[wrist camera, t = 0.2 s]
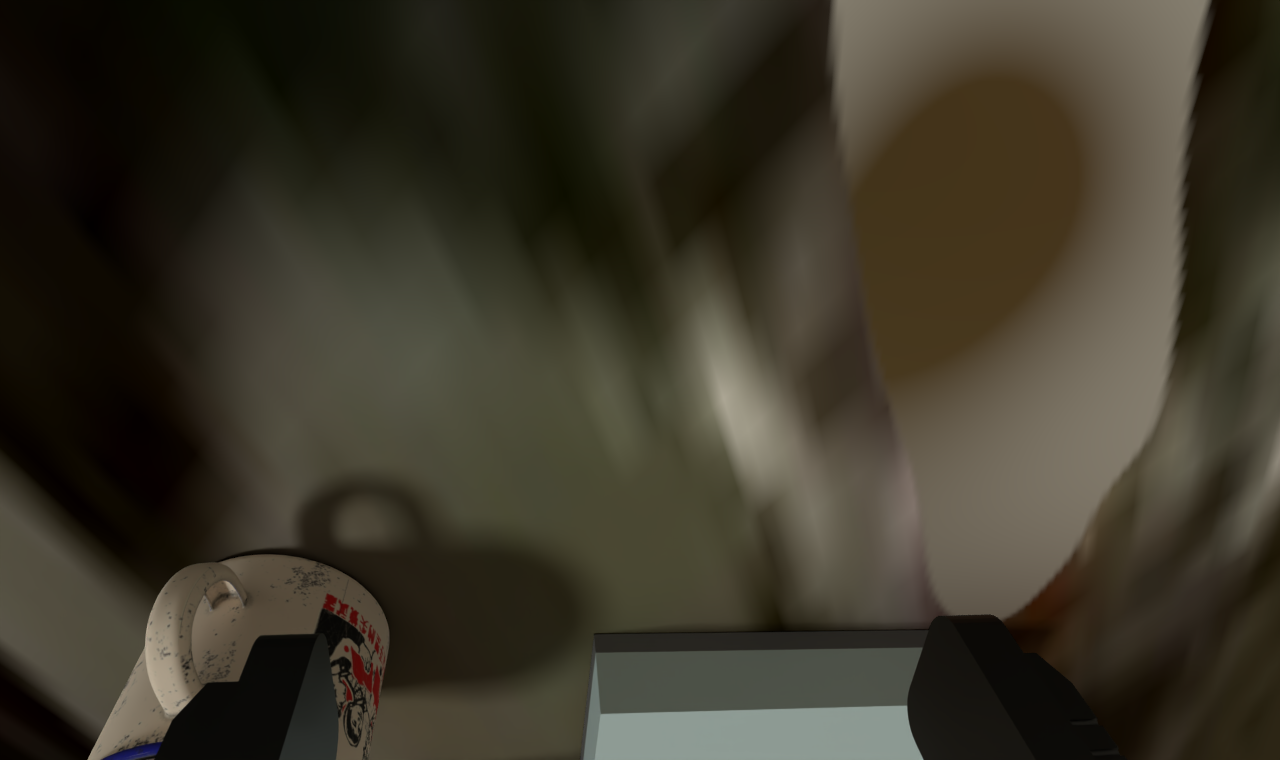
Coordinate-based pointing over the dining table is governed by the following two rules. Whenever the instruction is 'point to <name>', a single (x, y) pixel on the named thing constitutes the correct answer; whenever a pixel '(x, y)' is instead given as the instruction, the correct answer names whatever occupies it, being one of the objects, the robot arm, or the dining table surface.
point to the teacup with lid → (249, 645)
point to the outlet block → (752, 696)
